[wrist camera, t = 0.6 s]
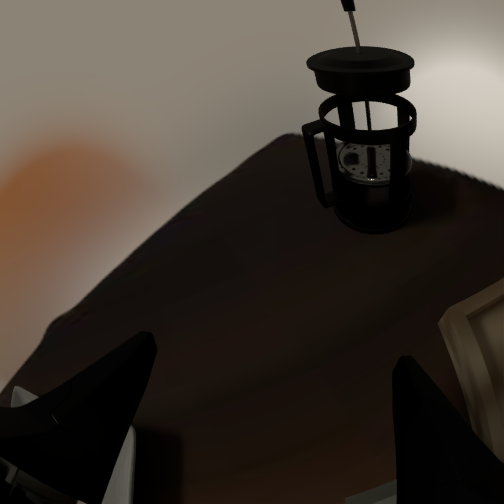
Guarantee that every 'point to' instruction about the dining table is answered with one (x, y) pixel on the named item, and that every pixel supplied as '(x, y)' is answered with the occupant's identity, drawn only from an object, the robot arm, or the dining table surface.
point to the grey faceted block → (376, 495)
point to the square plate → (122, 478)
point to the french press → (363, 131)
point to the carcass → (480, 360)
